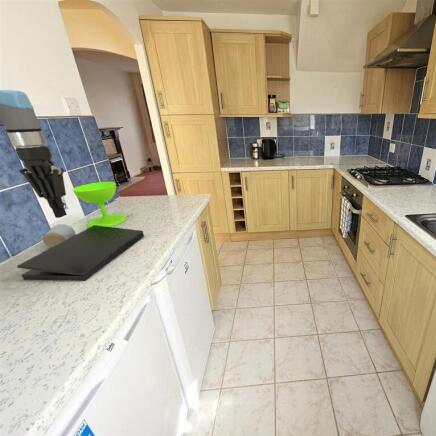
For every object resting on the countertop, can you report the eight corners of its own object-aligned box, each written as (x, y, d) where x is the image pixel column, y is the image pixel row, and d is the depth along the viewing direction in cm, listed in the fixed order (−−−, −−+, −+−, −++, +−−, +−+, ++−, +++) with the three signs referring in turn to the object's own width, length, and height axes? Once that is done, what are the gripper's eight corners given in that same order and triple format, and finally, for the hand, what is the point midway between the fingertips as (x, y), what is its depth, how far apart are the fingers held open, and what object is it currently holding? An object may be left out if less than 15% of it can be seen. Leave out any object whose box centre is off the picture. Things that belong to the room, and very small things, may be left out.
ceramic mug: (45, 251, 94) (37, 233, 90) (56, 242, 101) (48, 225, 98) (79, 246, 97) (71, 229, 94) (86, 237, 104) (80, 221, 101)
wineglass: (128, 213, 129) (118, 180, 122) (124, 224, 115) (112, 188, 108) (92, 219, 123) (78, 184, 115) (82, 231, 109) (67, 193, 102)
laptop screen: (17, 268, 76) (16, 265, 75) (94, 226, 103) (94, 225, 103) (83, 276, 75) (82, 273, 75) (143, 232, 103) (142, 230, 102)
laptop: (23, 279, 77) (20, 274, 77) (97, 236, 105) (96, 232, 104) (85, 280, 76) (83, 275, 75) (144, 236, 103) (143, 232, 103)
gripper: (62, 144, 78) (87, 212, 88) (24, 145, 79) (54, 212, 88) (38, 147, 71) (69, 220, 81) (-3, 148, 72) (32, 220, 82)
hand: (61, 216), depth 85 cm, fingers closed
